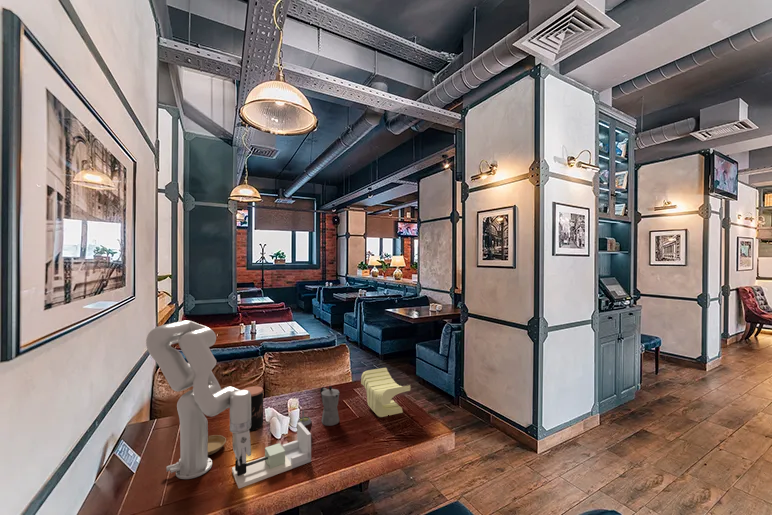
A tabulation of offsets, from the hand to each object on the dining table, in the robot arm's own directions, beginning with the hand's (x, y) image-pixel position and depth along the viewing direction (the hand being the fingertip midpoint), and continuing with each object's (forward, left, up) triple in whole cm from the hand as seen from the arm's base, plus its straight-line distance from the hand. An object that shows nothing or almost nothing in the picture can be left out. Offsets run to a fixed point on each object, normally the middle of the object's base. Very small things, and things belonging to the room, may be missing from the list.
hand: (240, 471), depth 129 cm
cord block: (+8, 0, -1) cm, 8 cm away
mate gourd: (+31, +14, -3) cm, 34 cm away
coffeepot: (+47, +21, -3) cm, 52 cm away
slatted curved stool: (+77, +14, -3) cm, 78 cm away
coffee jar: (+13, +38, -3) cm, 40 cm away
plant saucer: (-8, +28, -2) cm, 29 cm away
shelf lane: (+12, 0, -2) cm, 12 cm away
